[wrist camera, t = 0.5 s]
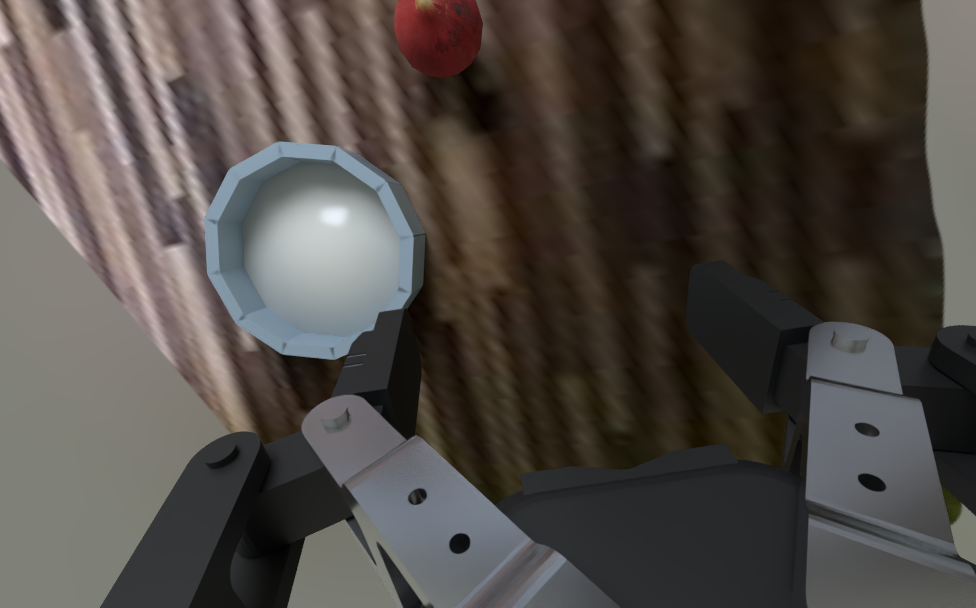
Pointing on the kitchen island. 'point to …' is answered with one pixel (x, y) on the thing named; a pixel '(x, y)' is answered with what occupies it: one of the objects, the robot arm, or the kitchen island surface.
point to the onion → (438, 34)
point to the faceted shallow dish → (312, 247)
